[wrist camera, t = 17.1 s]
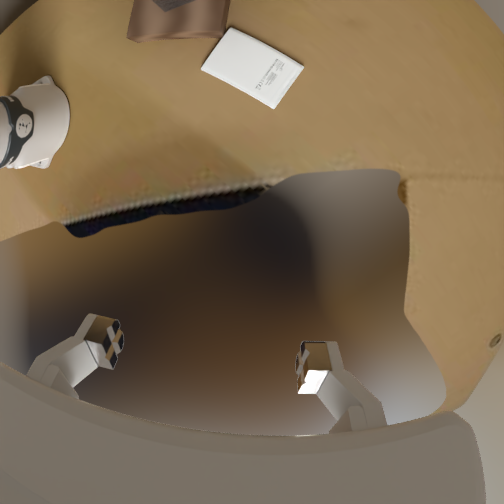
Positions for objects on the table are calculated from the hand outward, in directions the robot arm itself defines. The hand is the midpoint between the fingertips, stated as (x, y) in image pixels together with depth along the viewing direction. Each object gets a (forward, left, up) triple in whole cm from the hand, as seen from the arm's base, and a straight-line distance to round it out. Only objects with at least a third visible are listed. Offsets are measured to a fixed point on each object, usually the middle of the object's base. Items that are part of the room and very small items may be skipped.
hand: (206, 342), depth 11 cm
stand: (-13, +28, -33) cm, 45 cm away
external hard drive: (-1, +17, -34) cm, 38 cm away
